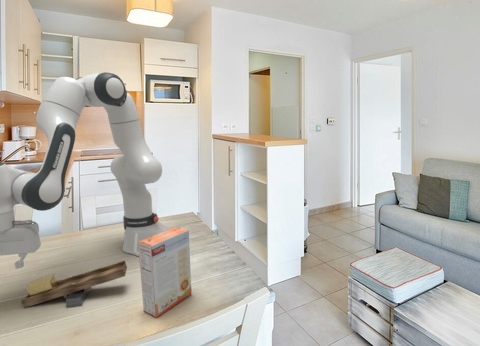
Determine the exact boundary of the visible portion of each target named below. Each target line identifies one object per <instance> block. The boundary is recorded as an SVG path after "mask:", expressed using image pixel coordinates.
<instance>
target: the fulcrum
mask: <svg viewBox="0 0 480 346" xmlns="http://www.w3.org/2000/svg"><path fill="white" fill-rule="evenodd" d="M88 293H89V291H87V289H83V290H79V291H76V292H73V293H70V294H69V295H68V297H67V298H65V304H66V308H74V307H80V306H83V305H84V302H85V300H86V298H87V297H86V296H87V295H88Z"/></svg>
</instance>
